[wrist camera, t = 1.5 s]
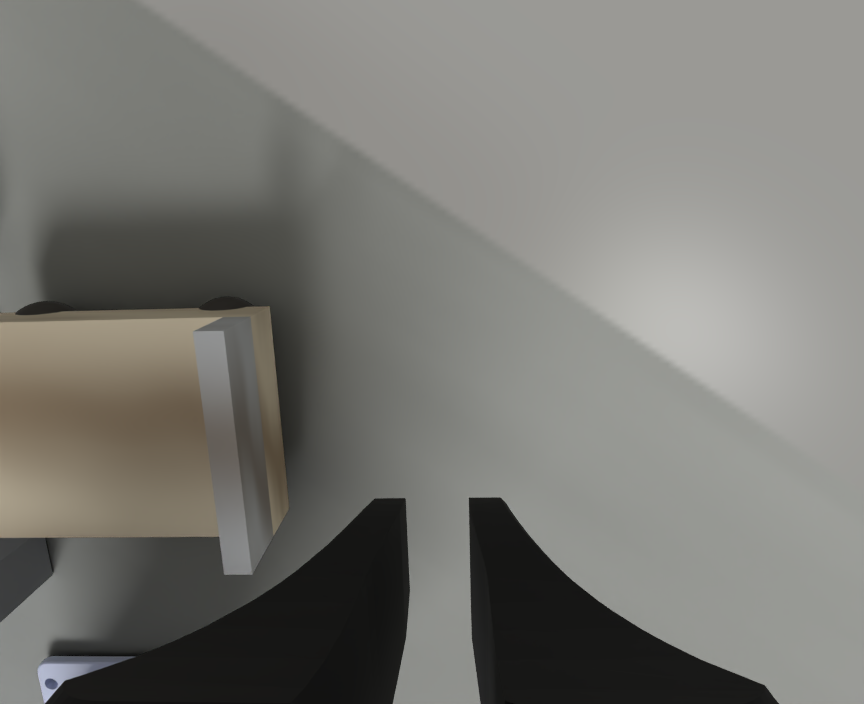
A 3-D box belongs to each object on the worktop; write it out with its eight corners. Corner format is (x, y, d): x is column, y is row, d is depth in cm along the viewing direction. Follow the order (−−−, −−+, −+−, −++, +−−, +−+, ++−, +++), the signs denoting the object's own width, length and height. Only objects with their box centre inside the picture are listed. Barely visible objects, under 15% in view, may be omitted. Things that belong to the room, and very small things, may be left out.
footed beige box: (300, 496, 22) (253, 583, 17) (63, 498, 22) (-53, 584, 17) (281, 290, 20) (222, 319, 15) (24, 297, 21) (-118, 326, 16)
